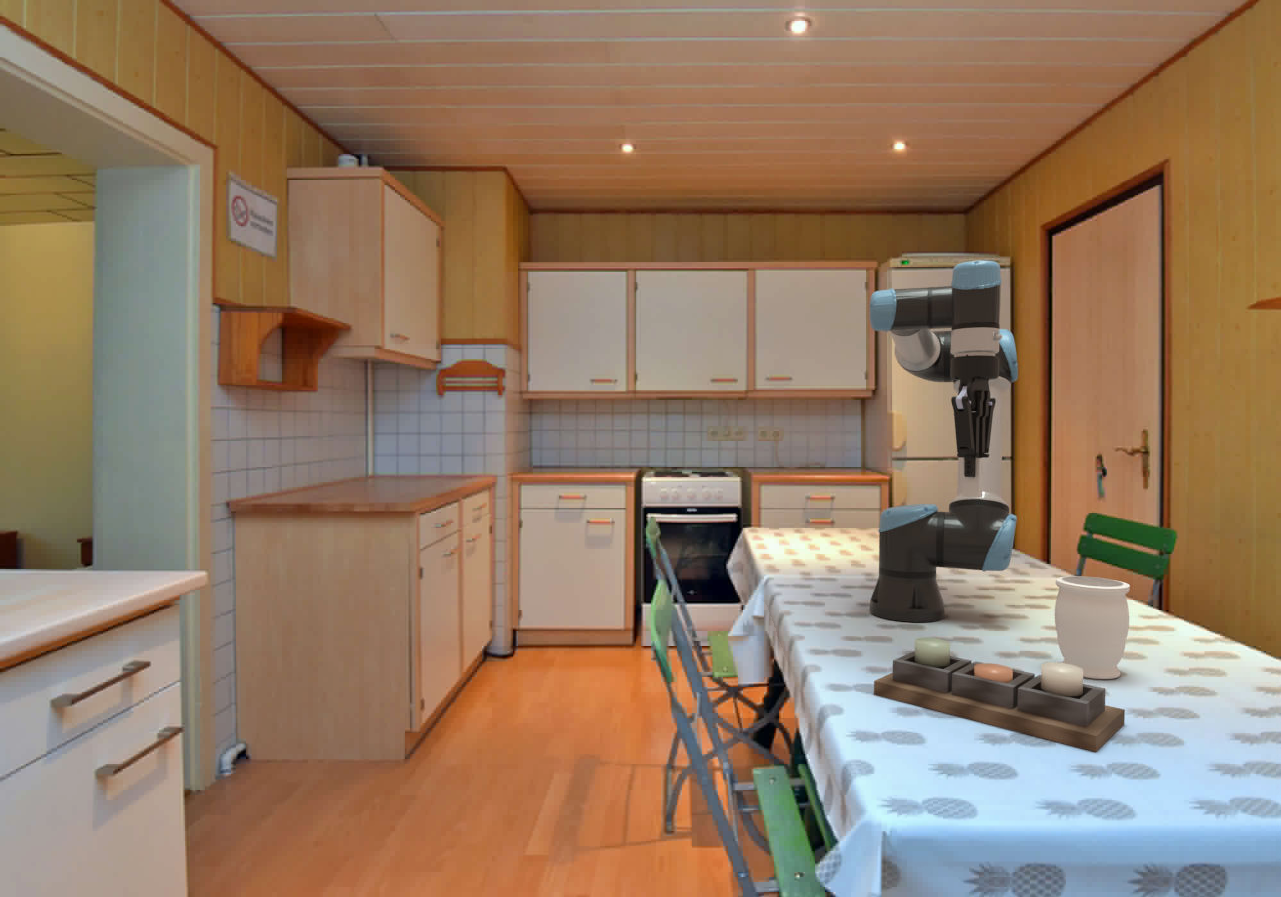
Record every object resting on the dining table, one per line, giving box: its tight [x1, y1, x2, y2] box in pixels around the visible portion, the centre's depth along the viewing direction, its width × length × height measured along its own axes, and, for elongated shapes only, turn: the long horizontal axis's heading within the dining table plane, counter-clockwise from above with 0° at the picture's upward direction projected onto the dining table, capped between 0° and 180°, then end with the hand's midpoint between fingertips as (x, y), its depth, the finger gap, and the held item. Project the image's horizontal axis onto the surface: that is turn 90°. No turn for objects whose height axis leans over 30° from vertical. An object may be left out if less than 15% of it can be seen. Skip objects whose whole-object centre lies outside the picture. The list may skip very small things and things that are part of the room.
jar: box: [1054, 575, 1131, 680], centre depth 131 cm, size 11×10×15 cm
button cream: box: [1040, 661, 1084, 696], centre depth 108 cm, size 5×5×3 cm
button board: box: [873, 650, 1126, 753], centre depth 114 cm, size 30×13×5 cm, turn 46°
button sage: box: [914, 637, 951, 667], centre depth 121 cm, size 5×5×3 cm
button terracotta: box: [974, 662, 1013, 683], centre depth 114 cm, size 5×5×3 cm
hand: (972, 496), depth 135 cm, fingers closed
